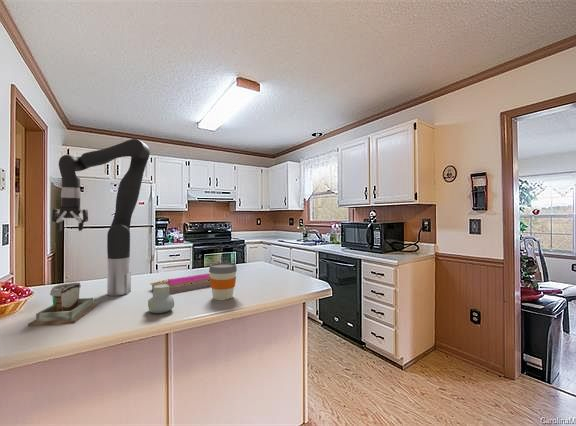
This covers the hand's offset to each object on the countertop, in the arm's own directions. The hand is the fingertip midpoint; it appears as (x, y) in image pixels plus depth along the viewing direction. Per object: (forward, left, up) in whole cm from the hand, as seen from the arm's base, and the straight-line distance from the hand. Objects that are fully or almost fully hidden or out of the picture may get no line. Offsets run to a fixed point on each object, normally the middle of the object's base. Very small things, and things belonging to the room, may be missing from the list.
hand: (70, 230), depth 138 cm
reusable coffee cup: (-73, +22, -30) cm, 82 cm away
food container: (-13, +33, -29) cm, 46 cm away
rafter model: (-55, 0, -31) cm, 63 cm away
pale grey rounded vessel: (-49, +36, -30) cm, 68 cm away
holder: (-15, +33, -30) cm, 47 cm away
